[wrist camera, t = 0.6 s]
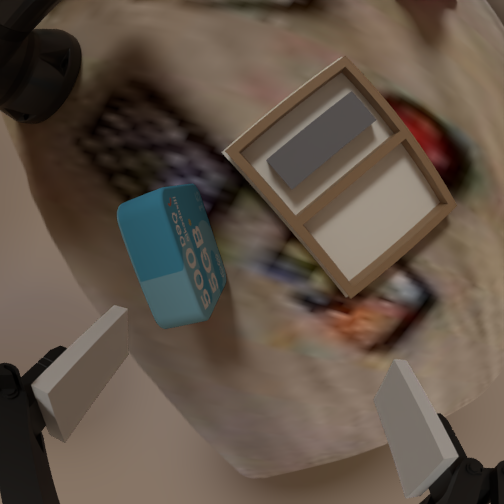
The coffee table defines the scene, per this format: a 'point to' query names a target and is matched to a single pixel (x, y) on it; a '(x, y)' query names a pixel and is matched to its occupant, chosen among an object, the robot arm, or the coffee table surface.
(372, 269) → the slot board
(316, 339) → the coffee table surface
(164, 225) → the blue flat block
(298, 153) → the rubber bar
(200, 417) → the coffee table surface
